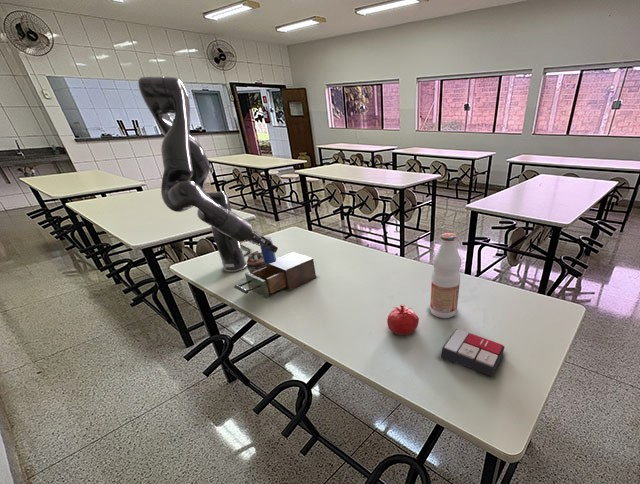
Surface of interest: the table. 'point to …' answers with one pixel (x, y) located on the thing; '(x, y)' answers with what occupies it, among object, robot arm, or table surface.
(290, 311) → the table surface
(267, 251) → the pepper shaker
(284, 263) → the cabinet
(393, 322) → the pomegranate
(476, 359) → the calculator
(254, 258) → the cupcake
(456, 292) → the fruit juice
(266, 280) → the drawer
